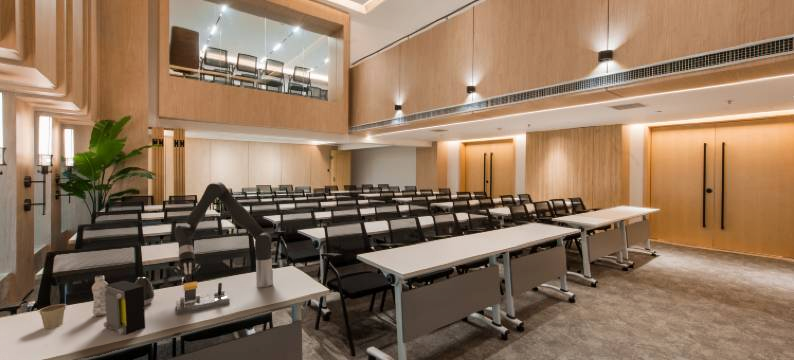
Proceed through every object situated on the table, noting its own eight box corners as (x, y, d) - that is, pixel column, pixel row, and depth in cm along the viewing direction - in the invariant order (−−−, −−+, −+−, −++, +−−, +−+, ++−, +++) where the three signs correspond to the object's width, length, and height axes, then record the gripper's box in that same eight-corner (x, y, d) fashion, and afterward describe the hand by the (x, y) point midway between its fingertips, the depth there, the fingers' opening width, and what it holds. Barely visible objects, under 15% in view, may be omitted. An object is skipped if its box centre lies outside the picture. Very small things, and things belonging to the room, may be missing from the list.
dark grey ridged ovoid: (148, 299, 192) (147, 273, 192) (158, 302, 187) (157, 275, 187) (127, 305, 184) (126, 278, 183) (136, 309, 178) (135, 281, 178)
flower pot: (66, 319, 168) (65, 302, 167) (68, 324, 162) (68, 307, 161) (38, 326, 160) (37, 308, 160) (40, 332, 154) (39, 314, 154)
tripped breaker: (196, 297, 183) (196, 281, 177) (196, 301, 181) (197, 285, 176) (183, 300, 180) (183, 283, 174) (183, 303, 178) (183, 287, 172)
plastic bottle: (90, 318, 168) (89, 279, 167) (95, 313, 174) (93, 275, 173) (107, 316, 171) (105, 277, 170) (111, 311, 177) (109, 273, 176)
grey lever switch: (225, 295, 196) (225, 276, 196) (229, 303, 185) (229, 282, 184) (176, 306, 183) (175, 284, 182) (177, 315, 171) (176, 292, 171)
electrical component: (102, 328, 158) (100, 286, 157) (127, 319, 167) (126, 279, 166) (121, 337, 150) (119, 292, 149) (146, 327, 159) (145, 285, 158)
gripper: (172, 252, 188) (174, 280, 179) (200, 249, 196) (203, 275, 186) (172, 260, 193) (174, 287, 183) (199, 256, 200) (202, 282, 191)
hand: (188, 281), depth 185 cm, fingers closed
